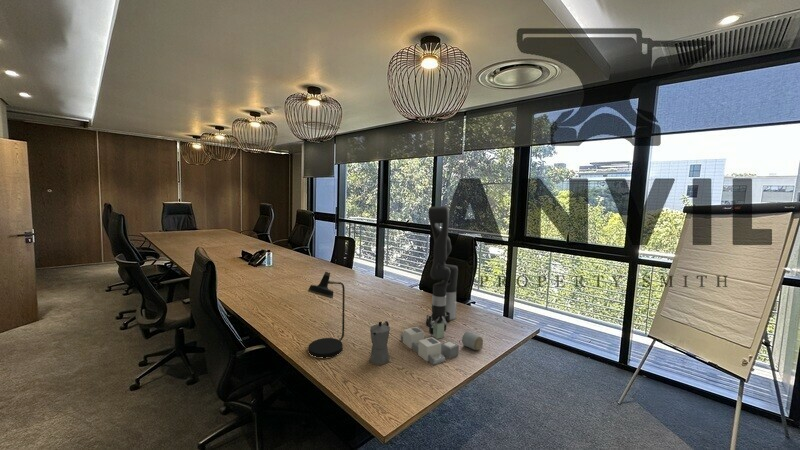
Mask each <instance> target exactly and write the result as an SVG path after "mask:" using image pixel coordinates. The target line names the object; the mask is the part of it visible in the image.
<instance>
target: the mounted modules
mask: <svg viewBox="0 0 800 450" xmlns="http://www.w3.org/2000/svg"><path fill="white" fill-rule="evenodd" d="M402 334H403V341H402V343H403V344H404V345H405V346H407V348H409V349H410V350H411V349H412V343H413V342H414V343H415V344H416V343H419V346H418V353H417V355H418V356H419V357H420V358H422V359H423V360H424V361H426V362H428V355H431V356H434V355H437V354H441V344H442V342H440V341H439V340H438V339H436V338H435V337H433V336H430V337H427V338H425V331H424V330H423V329H421V328H419V327H418V326H414V327H409V328H405V329H403V333H402ZM412 350H413V349H412ZM441 355H442V354H441Z"/></svg>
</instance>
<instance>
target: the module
mask: <svg viewBox="0 0 800 450" xmlns="http://www.w3.org/2000/svg"><path fill="white" fill-rule="evenodd" d="M433 322H435V321H434V320H433ZM432 324H433V323H432ZM431 337H433V338H434V339H436V340H438V339H442V338H443V339H444V337H445V331H444V322H438V323H436V324H435V325H434V327H433V335H431Z"/></svg>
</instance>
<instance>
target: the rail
mask: <svg viewBox="0 0 800 450" xmlns="http://www.w3.org/2000/svg"><path fill="white" fill-rule="evenodd" d="M400 339H401V340H400V341H401V342H403V333H400ZM418 346H419V343H416V344H415V343H414V342H413V343H412V350H413V351H414V352H416V353H417V354H418ZM427 362H428V363H430V364H431V365H432V366H435V365H438V364H441V363H444V362H446V357H445V356H444V355H442V354H437V355H434V356H431V355H428V361H427Z"/></svg>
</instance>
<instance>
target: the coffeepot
mask: <svg viewBox="0 0 800 450" xmlns="http://www.w3.org/2000/svg"><path fill="white" fill-rule="evenodd" d="M389 323H390V322H388V321H387V320H386V321H384V322H382V321H378V324H377V323H376V324H373V325H371V326H370V327H369V328H370V330H369V331H370V339H371V344H372V345H371V351H370V356H369V357H370V358H369V362H370V363H371V364H372V365H375V366H383V365H386V364H388V363H389V362H390V361H389V360H390V356H389V348H388V343H389V336H390V331H391V330H390V329H391V328H390V326H389V325H390V324H389Z"/></svg>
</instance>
